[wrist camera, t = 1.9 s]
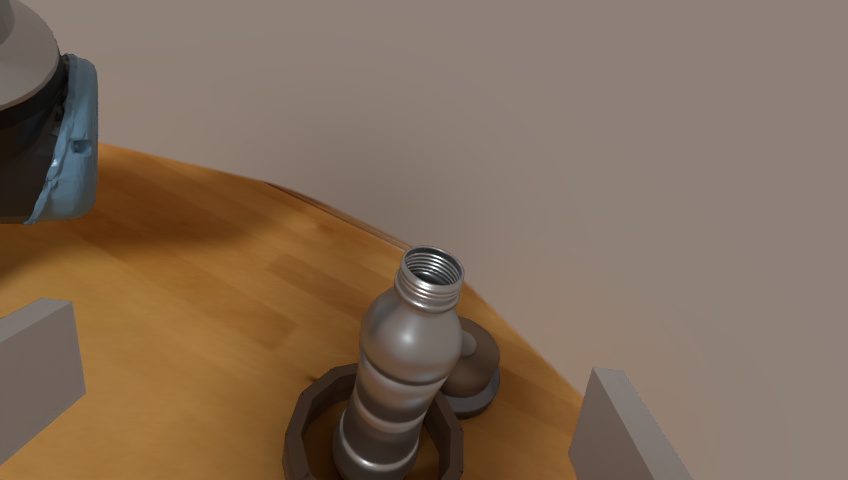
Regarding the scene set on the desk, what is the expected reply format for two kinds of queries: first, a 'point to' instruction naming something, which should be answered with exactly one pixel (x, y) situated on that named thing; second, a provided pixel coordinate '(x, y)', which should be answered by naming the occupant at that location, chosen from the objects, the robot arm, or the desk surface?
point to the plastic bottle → (400, 366)
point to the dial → (439, 418)
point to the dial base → (475, 400)
